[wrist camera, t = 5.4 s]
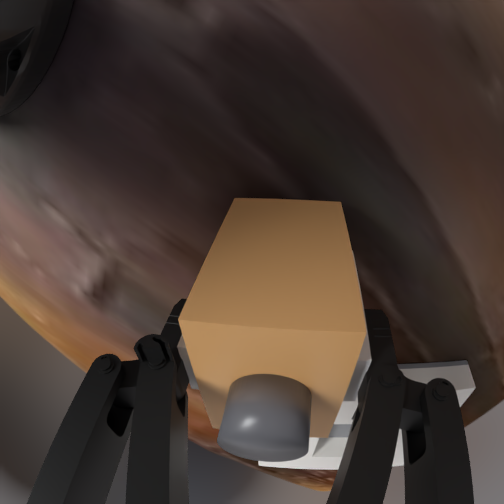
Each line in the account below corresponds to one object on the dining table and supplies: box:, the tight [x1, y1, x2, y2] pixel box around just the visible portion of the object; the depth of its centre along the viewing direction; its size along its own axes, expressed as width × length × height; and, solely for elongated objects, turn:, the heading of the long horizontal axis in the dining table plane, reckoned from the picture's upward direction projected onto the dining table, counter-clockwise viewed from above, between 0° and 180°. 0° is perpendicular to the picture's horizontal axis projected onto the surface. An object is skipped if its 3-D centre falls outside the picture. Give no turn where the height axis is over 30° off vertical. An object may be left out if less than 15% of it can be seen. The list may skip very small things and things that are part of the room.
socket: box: [259, 360, 476, 469], centre depth 26 cm, size 18×18×3 cm
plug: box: [178, 198, 367, 462], centre depth 12 cm, size 5×7×10 cm
